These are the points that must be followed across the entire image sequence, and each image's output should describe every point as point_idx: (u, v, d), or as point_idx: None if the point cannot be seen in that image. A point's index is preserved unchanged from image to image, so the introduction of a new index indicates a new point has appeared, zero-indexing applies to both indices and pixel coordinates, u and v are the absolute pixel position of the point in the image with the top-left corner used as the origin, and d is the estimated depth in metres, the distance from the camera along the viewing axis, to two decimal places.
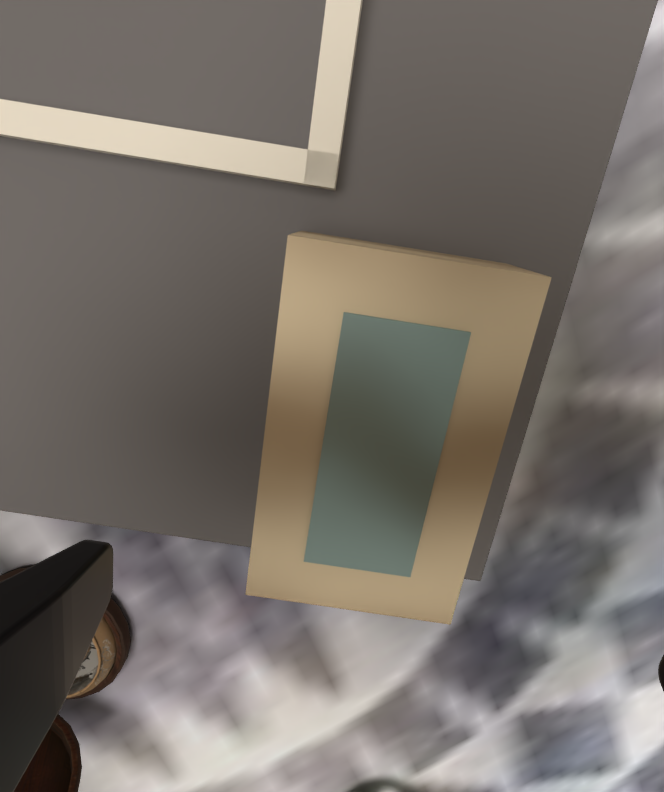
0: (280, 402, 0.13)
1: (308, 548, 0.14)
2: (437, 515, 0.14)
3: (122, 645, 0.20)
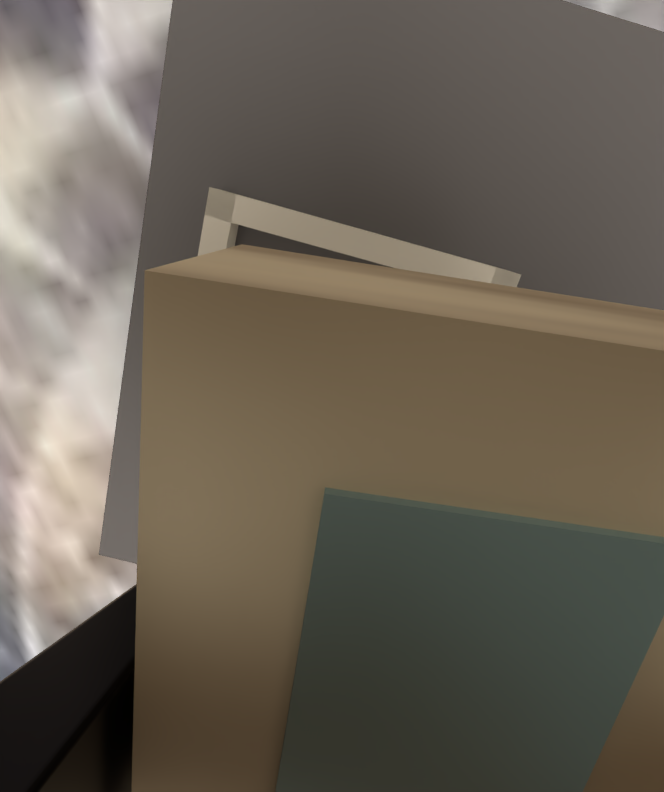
0: (165, 693, 0.05)
1: None
2: None
3: None
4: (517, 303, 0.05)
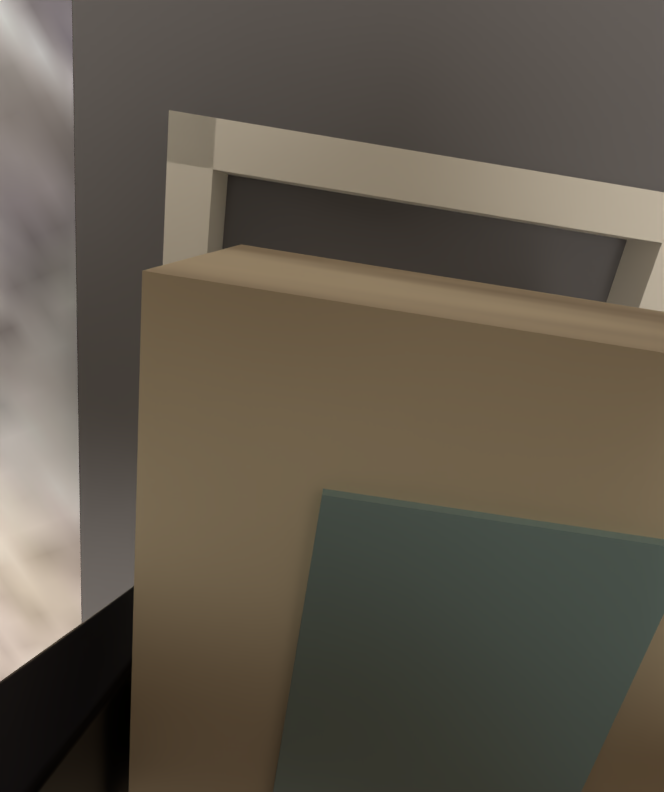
0: (163, 693, 0.05)
1: None
2: None
3: None
4: (516, 304, 0.05)
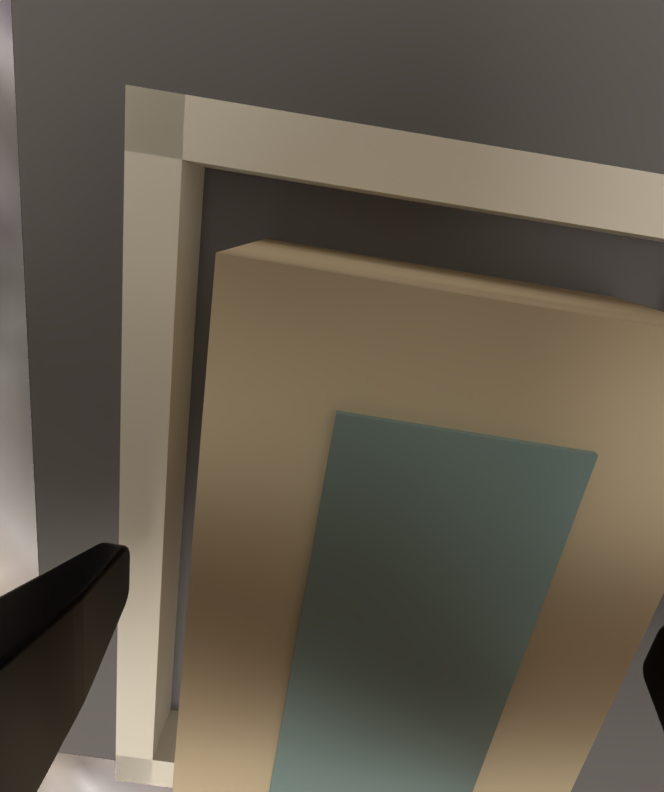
0: (214, 572, 0.07)
1: None
2: (504, 757, 0.08)
3: None
4: (480, 284, 0.07)
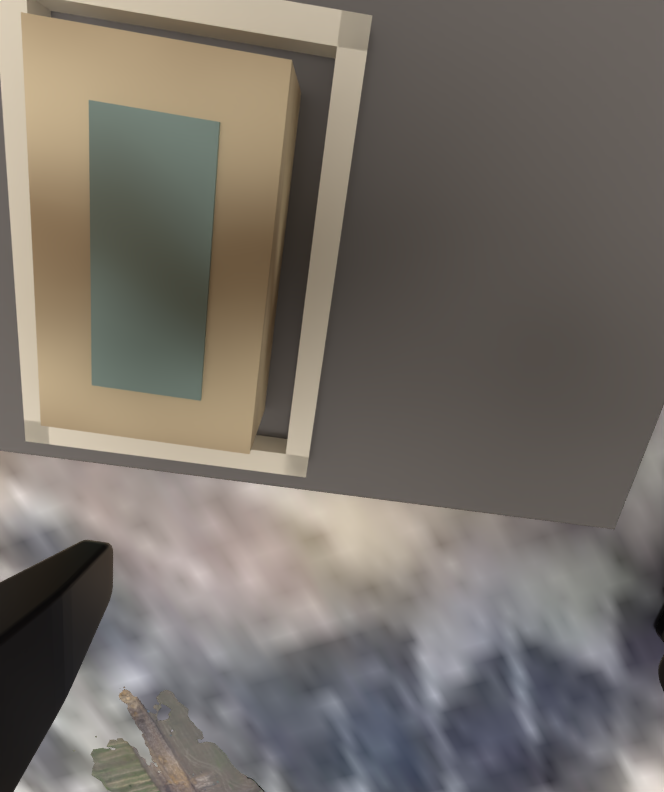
0: (43, 205, 0.13)
1: (95, 371, 0.14)
2: (218, 331, 0.14)
3: None
4: None
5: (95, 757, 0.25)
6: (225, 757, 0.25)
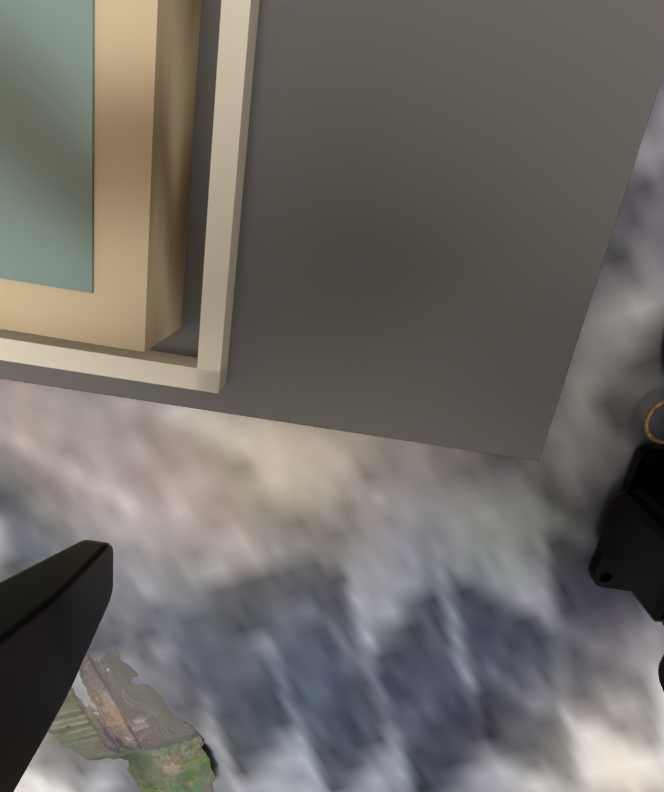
0: None
1: None
2: (106, 220, 0.14)
3: None
4: None
5: None
6: (162, 699, 0.25)
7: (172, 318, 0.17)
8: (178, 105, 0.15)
